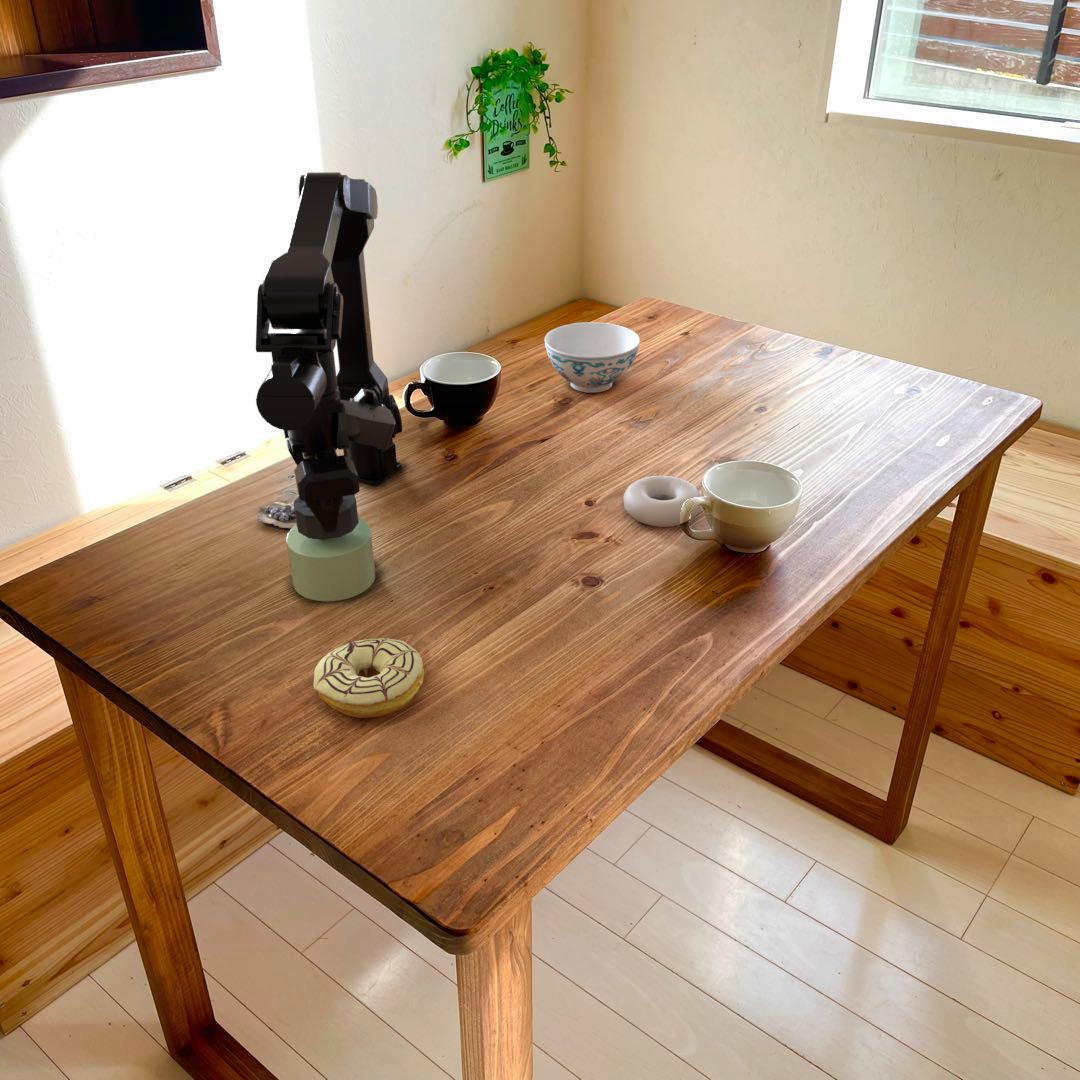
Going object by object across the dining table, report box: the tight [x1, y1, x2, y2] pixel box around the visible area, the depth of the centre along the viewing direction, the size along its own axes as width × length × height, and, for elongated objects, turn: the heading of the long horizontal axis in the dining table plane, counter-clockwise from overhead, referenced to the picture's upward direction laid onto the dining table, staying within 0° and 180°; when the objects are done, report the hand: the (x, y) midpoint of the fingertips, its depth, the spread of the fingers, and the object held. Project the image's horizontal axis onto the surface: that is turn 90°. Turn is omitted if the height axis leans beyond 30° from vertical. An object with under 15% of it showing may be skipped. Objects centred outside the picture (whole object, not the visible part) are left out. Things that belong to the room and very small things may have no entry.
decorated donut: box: [313, 637, 425, 719], centre depth 111 cm, size 10×11×4 cm
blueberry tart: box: [256, 500, 297, 530], centre depth 141 cm, size 7×8×2 cm
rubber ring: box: [292, 495, 359, 540], centre depth 125 cm, size 7×7×3 cm
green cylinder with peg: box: [285, 517, 376, 602], centre depth 127 cm, size 10×10×9 cm
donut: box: [622, 475, 702, 528], centre depth 141 cm, size 10×4×10 cm
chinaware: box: [543, 321, 641, 393], centre depth 175 cm, size 15×15×8 cm
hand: (326, 516), depth 125 cm, fingers closed on rubber ring, 7 cm apart
